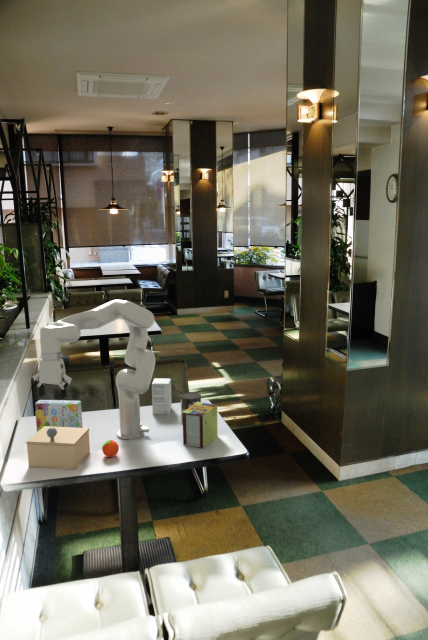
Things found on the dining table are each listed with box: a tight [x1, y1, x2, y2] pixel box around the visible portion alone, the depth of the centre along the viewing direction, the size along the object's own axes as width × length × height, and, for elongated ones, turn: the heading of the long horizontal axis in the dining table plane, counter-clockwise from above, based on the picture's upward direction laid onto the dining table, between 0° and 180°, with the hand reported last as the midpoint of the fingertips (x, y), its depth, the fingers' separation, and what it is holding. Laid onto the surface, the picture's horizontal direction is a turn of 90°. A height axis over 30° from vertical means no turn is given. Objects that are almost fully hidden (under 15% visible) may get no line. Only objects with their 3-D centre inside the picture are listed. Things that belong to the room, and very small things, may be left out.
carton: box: [26, 430, 91, 470], centre depth 214 cm, size 20×16×10 cm
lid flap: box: [26, 426, 90, 446], centre depth 213 cm, size 20×16×6 cm
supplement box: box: [151, 377, 173, 415], centre depth 270 cm, size 10×9×17 cm
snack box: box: [34, 399, 84, 433], centre depth 244 cm, size 21×6×15 cm, turn 84°
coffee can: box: [180, 391, 202, 425], centre depth 254 cm, size 10×10×14 cm
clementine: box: [101, 439, 120, 458], centre depth 217 cm, size 8×7×7 cm
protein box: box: [182, 401, 218, 449], centre depth 232 cm, size 10×15×16 cm
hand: (52, 396), depth 209 cm, fingers open, 9 cm apart
